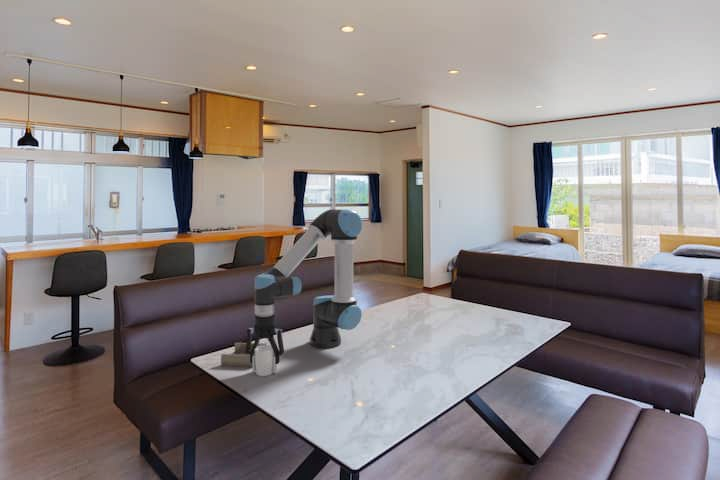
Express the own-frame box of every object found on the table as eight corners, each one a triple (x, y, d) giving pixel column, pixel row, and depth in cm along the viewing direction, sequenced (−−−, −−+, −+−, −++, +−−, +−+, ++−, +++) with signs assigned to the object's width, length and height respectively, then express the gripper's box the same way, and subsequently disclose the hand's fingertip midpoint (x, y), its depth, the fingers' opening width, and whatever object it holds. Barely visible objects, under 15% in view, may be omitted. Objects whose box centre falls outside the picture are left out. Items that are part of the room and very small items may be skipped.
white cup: (254, 377, 156) (254, 352, 155) (254, 369, 164) (254, 345, 163) (275, 375, 158) (275, 350, 157) (274, 368, 166) (274, 344, 165)
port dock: (266, 353, 182) (266, 343, 182) (254, 367, 166) (254, 356, 166) (235, 352, 183) (235, 342, 183) (221, 365, 168) (221, 355, 167)
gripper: (235, 316, 156) (236, 373, 158) (287, 317, 155) (287, 376, 156) (242, 311, 164) (243, 366, 165) (292, 312, 162) (292, 368, 164)
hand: (264, 371), depth 161 cm, fingers closed on white cup, 8 cm apart
